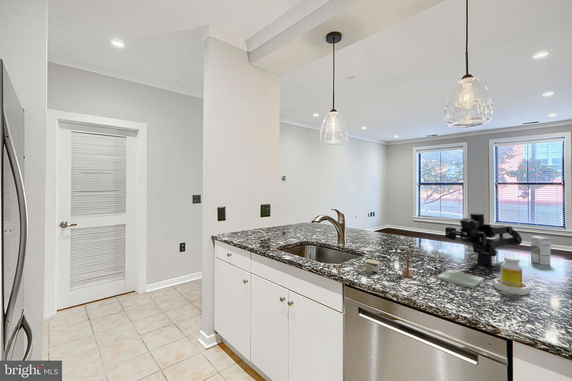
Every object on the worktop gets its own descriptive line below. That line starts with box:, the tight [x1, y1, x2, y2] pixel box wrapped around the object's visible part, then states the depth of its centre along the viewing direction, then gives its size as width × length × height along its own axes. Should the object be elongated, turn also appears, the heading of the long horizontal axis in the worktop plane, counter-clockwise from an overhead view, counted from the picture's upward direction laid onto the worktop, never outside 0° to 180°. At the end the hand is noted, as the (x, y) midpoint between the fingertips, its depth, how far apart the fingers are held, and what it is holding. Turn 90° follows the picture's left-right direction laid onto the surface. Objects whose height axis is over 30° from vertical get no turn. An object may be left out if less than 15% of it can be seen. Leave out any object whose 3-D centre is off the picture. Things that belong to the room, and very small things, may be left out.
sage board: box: [436, 269, 485, 289], centre depth 118 cm, size 14×14×1 cm
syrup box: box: [530, 235, 552, 266], centre depth 143 cm, size 6×6×14 cm
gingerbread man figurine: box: [402, 249, 414, 280], centre depth 123 cm, size 9×4×12 cm, turn 159°
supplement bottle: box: [500, 256, 523, 288], centre depth 107 cm, size 7×7×13 cm
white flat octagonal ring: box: [492, 277, 531, 296], centre depth 107 cm, size 11×11×2 cm
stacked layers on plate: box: [364, 258, 380, 274], centre depth 128 cm, size 10×9×6 cm
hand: (453, 238), depth 128 cm, fingers open, 9 cm apart
